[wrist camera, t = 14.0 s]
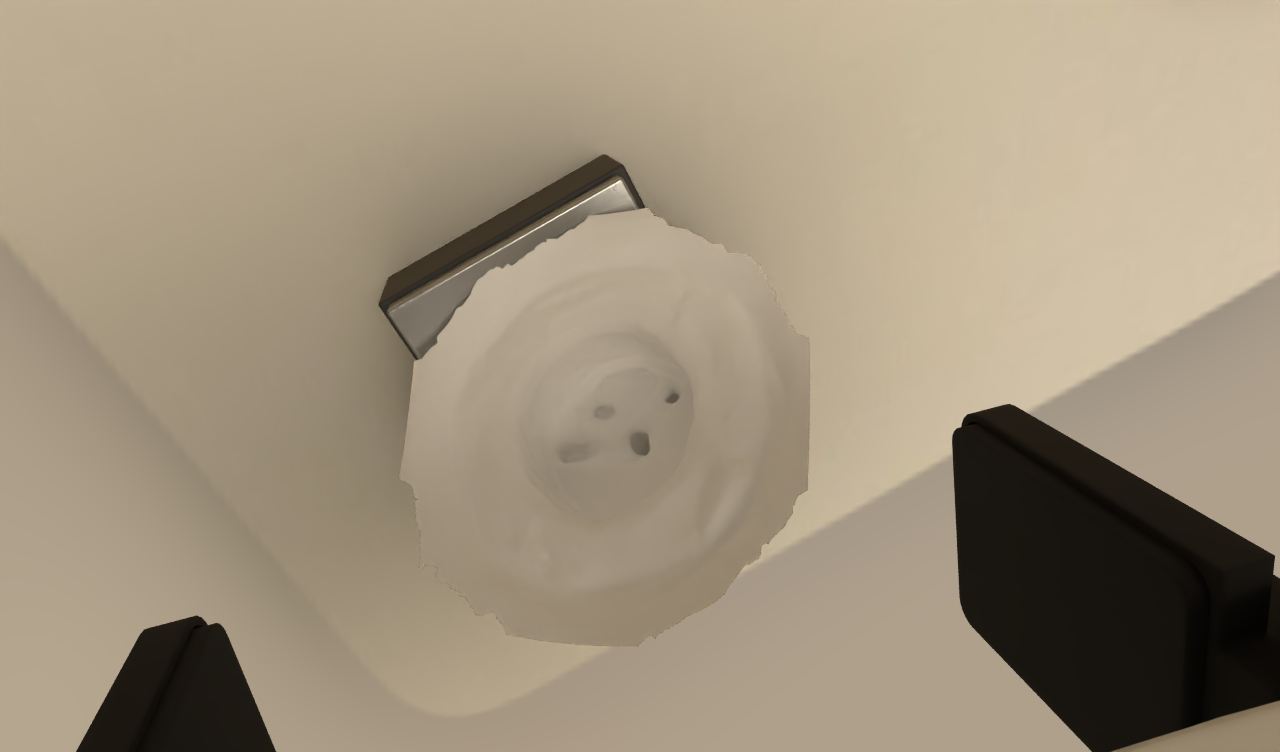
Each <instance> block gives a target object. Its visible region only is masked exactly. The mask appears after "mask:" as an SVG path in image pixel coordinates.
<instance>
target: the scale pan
mask: <svg viewBox="0 0 1280 752" xmlns="http://www.w3.org/2000/svg"><path fill="white" fill-rule="evenodd" d="M638 209H639V208H638V206H637V204H636V202H635V200H634V198H633V196H632V194H631V192H630V191H629V189H628V187H627V185H626V183H625V181H624V179H623V178H622V177H620V176H619V175H614V176H613V177H611V178H609V179H607V180H606V181H604V182H602V183H600V184H599V185H597V186H595V187H593V188H592V189H590V190H588V191H586V192H585V193H583V194H581V195H579V196H578V197H576V198H574V199H572V200H571V201H569V202H567V203H565V204H564V205H562V206H560V207H558V208H557V209H555V210H553V211H551V212H550V213H548V214H546V215H544V216H543V217H541V218H539V219H537V220H536V221H534V222H532V223H530V224H529V225H527V226H525V227H523V228H522V229H520V230H518V231H517V232H515V233H513V234H511V235H510V236H508V237H506V238H504V239H503V240H501V241H499V242H497V243H496V244H494V245H492V246H490V247H489V248H487V249H485V250H483V251H482V252H480V253H478V254H476V255H475V256H473V257H471V258H469V259H468V260H466V261H464V262H462V263H461V264H459V265H457V266H455V267H454V268H452V269H450V270H448V271H447V272H445V273H443V274H441V275H440V276H438V277H436V278H434V279H433V280H431V281H429V282H427V283H426V284H424V285H422V286H420V287H419V288H417V289H415V290H413V291H412V292H410V293H408V294H406V295H405V296H403V297H401V298H400V299H398V300H396V301H394V302H393V303H391V304H390V305H389V307H388V310H387V313H388V315H389V317H390V318H391V320H392V321H393V323H394V324H395V325H396V327H397V328H398V330H399V331H400V333H401V334H402V336H403V337H404V339H405V340H406V341H407V343H408V344H409V346H410V347H411V349H412V350H413V352H414V353H415V355H416V356H417V357H418V359H422V358H423V357H424V355H425V354H426V353H427V352H428V351H429V349H430V348H431V347H433V346H434V345H436V344H437V343H438V341H437V336H438V335H439V334H440V333H441V331H442V330H443V329H444V328H445V327H446V326H447V325H448V323H449V322H450V320H451V319H452V317H453V315H454V312H455V310H456V309H457V308H458V307H460V306H462V305H463V304H464V303H465V301H466V300H467V299H468V297H469V296H470V295H471V291H472V289H473V287H474V285H475V283H476V281H477V280H478V279H479V278H480V277H483V276H484V275H485V274H486V273H487V272H488V271H489V270H491V269H494V268H495V267H499V268H502V269H503V268H504V267H505V266H506V265H507V264H508V263H509V265H511V266H512V265H514V264H515V263H517V261H518V260H520V259H522V258H523V257H524V256H525V255H526V254H527V253H529V252H531V251H533V250H534V249H535V247H536V246H538V245H539V244H541V243H543V242H547V241H546V239H558V238H559V237H561V236H562V235H563V234H564V233H566V232H567V231H569V230H570V229H575V228H576V227H577V226H578V225H579V224H581V223H582V222H584V221H585V219H586V218H587V217H588V215H602V214H611V213H618V212H625V211H632V210H638Z"/></svg>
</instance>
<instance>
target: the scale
mask: <svg viewBox="0 0 1280 752" xmlns="http://www.w3.org/2000/svg"><path fill="white" fill-rule="evenodd" d="M614 175H619V176H620V177H622V178H623V179H624V181H625V183H626V185H627V187H628V189H629V191H630V192H631V194H632V196H633V198H634V200H635V202H636V204H637V206H638V208H639V209H644V208H645V206H644V204H643V202H642V200H641V198H640V196H639V194H638V192H637V190H636V188H635V186H634V185H633V183H632V181H631V179H630V177H629V175H628V173H627V171H626V169H625V167H624V166H623V165H622V164H620V163H619V162H617V161H615V160H614V159H612V158H610V157H609V156H607V155H602V156H600V157H598V158H597V159H595V160H593V161H591V162H590V163H588V164H586V165H584V166H583V167H581V168H579V169H577V170H576V171H574V172H572V173H570V174H569V175H567V176H565V177H563V178H562V179H560V180H558V181H556V182H555V183H553V184H551V185H549V186H548V187H546V188H544V189H542V190H541V191H539V192H537V193H536V194H534V195H532V196H530V197H529V198H527V199H525V200H523V201H522V202H520V203H518V204H516V205H515V206H513V207H511V208H509V209H508V210H506V211H504V212H502V213H501V214H499V215H497V216H495V217H494V218H492V219H490V220H488V221H487V222H485V223H483V224H481V225H480V226H478V227H476V228H474V229H473V230H471V231H469V232H467V233H466V234H464V235H462V236H460V237H459V238H457V239H455V240H453V241H452V242H450V243H448V244H446V245H445V246H443V247H441V248H439V249H438V250H436V251H434V252H432V253H431V254H429V255H427V256H425V257H424V258H422V259H420V260H419V261H417V262H415V263H413V264H412V265H410V266H408V267H406V268H405V269H403V270H401V271H399V272H398V273H396V274H394V275H392V276H391V277H389V278H388V280H387V283H386V285H385V288H384V291H383V294H382V296H381V299H380V302H379V307H380V308H381V310H382V311H383V313H384V314H385V315H386V317H387V318H388V320H389V321H390V323H391V324H392V326H393V327H394V329H395V330H396V331H397V333H398V334H399V336H400V337H401V339H402V340H403V342H404V343H405V345H406V346H407V347H408V349H409V350H410V352H411V353H412V355H413V356H414V358H415V359H416V360H419V359H418V357H417V356H416V355H415V353H414V352H413V350H412V349H411V347H410V346H409V344H408V343H407V341H406V340H405V339H404V337H403V336H402V334H401V333H400V331H399V330H398V328H397V327H396V325H395V324H394V323H393V321H392V320H391V318H390V317H389V315H388V313H387V310H388V307H389V305H390V304H391V303H393V302H394V301H396V300H398V299H400V298H401V297H403V296H405V295H406V294H408V293H410V292H412V291H413V290H415V289H417V288H419V287H420V286H422V285H424V284H426V283H427V282H429V281H431V280H433V279H434V278H436V277H438V276H440V275H441V274H443V273H445V272H447V271H448V270H450V269H452V268H454V267H455V266H457V265H459V264H461V263H462V262H464V261H466V260H468V259H469V258H471V257H473V256H475V255H476V254H478V253H480V252H482V251H483V250H485V249H487V248H489V247H490V246H492V245H494V244H496V243H497V242H499V241H501V240H503V239H504V238H506V237H508V236H510V235H511V234H513V233H515V232H517V231H518V230H520V229H522V228H523V227H525V226H527V225H529V224H530V223H532V222H534V221H536V220H537V219H539V218H541V217H543V216H544V215H546V214H548V213H550V212H551V211H553V210H555V209H557V208H558V207H560V206H562V205H564V204H565V203H567V202H569V201H571V200H572V199H574V198H576V197H578V196H579V195H581V194H583V193H585V192H586V191H588V190H590V189H592V188H593V187H595V186H597V185H599V184H600V183H602V182H604V181H606V180H607V179H609V178H611V177H613V176H614Z"/></svg>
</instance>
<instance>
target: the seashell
mask: <svg viewBox="0 0 1280 752" xmlns="http://www.w3.org/2000/svg"><path fill="white" fill-rule="evenodd" d="M546 241H547V242H543V243H541V244H539V245H538V246H536V247H535V249H534V250H533V251H531V252H529V253H527V254H526V255H525V256H524V257H523V258H522V259H520V260H518V261H517V263H515V264H514V265H512V266H511V265H509V263H508V264H507V265H506V266H505V267H504V268H503V269H502V268H499V267H495V268H494V269H491V270H489V271H488V272H487V273H486V274H485V275H484V276H483V277H480V278H479V279H478V280H477V281H476V283H475V285H474V287H473V289H472V291H471V295H470V296H469V297H468V299H467V300H466V301H465V303H464V304H463V305H462V306H460V307H458V308H457V309H456V310H455V312H454V315H453V317H452V319H451V320H450V322H449V323H448V325H447V326H446V327H445V328H444V329H443V330H442V331H441V333H440V334H439V335H438V336H437V341H438V343H437V344H436V345H434V346H433V347H431V348H430V349H429V351H428V352H427V353H426V354H425V355H424V357H423V358H422V359H419V360H416V361H414V367H413V377H412V386H411V395H410V404H409V413H408V421H407V430H406V437H405V445H404V452H403V458H402V464H401V469H400V474H399V479H400V480H402V481H404V482H406V483H408V484H410V485H411V487H412V489H413V491H414V496H413V498H417V500H416V501H415V509H416V515H415V516H416V519H417V525H418V527H419V529H420V535H421V540H420V553H421V555H420V563H419V568H422V569H423V568H424V565H425V564H426V565H430V566H435V567H437V572H436V576H435V577H432V578H436V579H437V580H439V581H440V582H441V583H449V586H450V588H451V589H454V590H455V591H460V595H459V596H462V597H465V598H466V600H467V601H468V602H469V603H470V607H471V608H472V609H473V611H474V613H475V615H479V616H484V615H486V614H488V613H491V612H494V614H495V616H496V618H497V619H498V620H499V621H500V623H501V624H502V625H503V627H504V629H505V632H506V634H507V635H511V636H516V637H522V638H528V639H534V640H541V641H548V642H557V643H566V644H576V645H592V646H638V645H639V644H641V643H642V642H643V641H644V640H645V639H646V638H647V637H648V636H652V637H654V638H656V637H657V635H658V634H660V633H662V632H663V631H664V630H666V629H669V628H670V627H672V626H674V625H675V624H678V623H679V622H680V621H682V620H683V619H684V618H686V617H687V616H689V615H691V614H693V613H696V612H698V611H700V610H702V609H704V608H706V607H708V606H709V605H711V604H713V603H714V602H716V601H717V600H718V599H719V598H721V597H722V596H723V595H724V594H725V592H726V591H727V589H728V588H729V586H730V585H731V583H732V582H733V581H734V579H735V578H736V577H737V575H738V574H739V572H740V571H741V570H742V568H743V567H744V566H745V565H746V564H751V563H752V562H754V561H755V560H757V559H759V557H760V555H761V546H762V545H763V544H765V543H767V544H769V542H770V540H771V539H772V538H773V537H774V536H775V535H776V534H777V533H778V532H779V531H780V530H781V529H783V527H784V526H785V525H786V523H787V521H788V519H789V518H790V517H791V515H792V513H793V506H794V504H795V501H796V499H797V497H798V496H799V495H801V494H802V493H804V492H805V491H807V489H808V463H809V417H810V343H809V337H805V336H802V335H799V334H796V333H795V331H794V329H793V327H792V325H790V324H789V322H788V319H787V317H786V314H785V313H784V312H783V311H782V310H781V308H780V305H779V304H778V303H777V302H776V292H775V291H774V290H773V289H772V288H770V286H769V284H768V282H767V276H766V274H765V273H761V264H757V263H756V262H755V261H754V260H753V259H752V258H751V257H750V256H748V255H746V254H743V253H728V252H727V251H726V250H725V248H724V246H723V244H722V243H720V244H711V243H709V242H708V241H706V240H705V239H704V238H703V237H701V236H700V235H696V234H693V233H691V232H690V231H689V230H688V229H679V228H676V227H674V226H668V224H667V223H666V221H665V220H664V219H662V218H660V217H657V216H654V215H653V214H652V212H651V211H650V210H649V208H644V209H638V210H632V211H625V212H618V213H611V214H602V215H588V217H587V218H586V219H585V221H584V222H582V223H581V224H579V225H578V226H577V227H576V228H575V229H570V230H569V231H567V232H566V233H564V234H563V235H562V236H561V237H559V238H558V239H546Z"/></svg>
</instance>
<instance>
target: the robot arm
mask: <svg viewBox="0 0 1280 752" xmlns="http://www.w3.org/2000/svg"><path fill="white" fill-rule="evenodd" d="M952 448H953V469H954V488H955V508H956V509H955V510H956V529H957V551H958V570H959V571H958V573H959V594H960V603H961V606H962V610H963V612H964V614H965V617H966V618H967V620H968V622H969V623H970V625H971V626H972V627H973V628H974V629H975V630H976V631H977V632H978V633H979V634H980V635H981V637H982V638H983V639H984V640H985V641H986V642H987V643H988V644H989V645H990V646H991V647H992V648H993V649H994V650H995V651H996V652H997V653H998V654H999V655H1000V656H1001V657H1002V658H1003V660H1004V661H1005V662H1006V663H1007V664H1008V665H1009V666H1010V667H1011V668H1012V669H1013V670H1014V671H1015V672H1016V673H1017V674H1018V675H1019V676H1020V677H1021V678H1022V679H1023V680H1024V681H1025V682H1026V683H1027V684H1028V686H1029V687H1030V688H1031V689H1032V690H1033V691H1034V692H1035V693H1036V694H1037V695H1038V696H1039V697H1040V698H1041V699H1042V700H1043V701H1044V702H1045V703H1046V704H1047V705H1048V706H1049V707H1050V708H1051V709H1052V711H1053V712H1054V713H1055V714H1056V715H1057V716H1058V717H1059V718H1060V719H1061V720H1062V721H1063V722H1064V723H1065V724H1066V725H1067V726H1068V727H1069V728H1070V729H1071V730H1072V731H1073V732H1074V733H1075V734H1076V736H1077V737H1078V738H1079V739H1080V740H1081V741H1082V742H1083V743H1084V744H1085V745H1086V746H1087V747H1088V748H1089V749H1090V750H1091V751H1092V752H1280V578H1278V577H1276V576H1275V575H1273V570H1274V561H1275V556H1274V555H1273V554H1271V553H1269V552H1267V551H1265V550H1264V549H1262V548H1261V547H1259V546H1257V545H1255V544H1253V543H1252V542H1250V541H1248V540H1247V539H1245V538H1243V537H1241V536H1240V535H1238V534H1236V533H1234V532H1232V531H1231V530H1229V529H1227V528H1226V527H1224V526H1222V525H1221V524H1219V523H1217V522H1215V521H1214V520H1212V519H1210V518H1208V517H1206V516H1205V515H1203V514H1201V513H1200V512H1198V511H1196V510H1194V509H1193V508H1191V507H1189V506H1188V505H1186V504H1184V503H1182V502H1181V501H1179V500H1177V499H1175V498H1174V497H1172V496H1170V495H1169V494H1167V493H1165V492H1163V491H1161V490H1160V489H1158V488H1156V487H1155V486H1153V485H1151V484H1149V483H1148V482H1146V481H1144V480H1143V479H1141V478H1139V477H1137V476H1136V475H1134V474H1132V473H1130V472H1128V471H1127V470H1125V469H1123V468H1122V467H1120V466H1118V465H1116V464H1115V463H1113V462H1111V461H1110V460H1108V459H1106V458H1104V457H1103V456H1101V455H1099V454H1097V453H1096V452H1094V451H1092V450H1090V449H1089V448H1087V447H1085V446H1083V445H1082V444H1080V443H1078V442H1077V441H1075V440H1073V439H1071V438H1070V437H1068V436H1066V435H1064V434H1063V433H1061V432H1059V431H1057V430H1056V429H1054V428H1052V427H1050V426H1049V425H1047V424H1045V423H1044V422H1042V421H1040V420H1038V419H1037V418H1035V417H1033V416H1031V415H1030V414H1028V413H1026V412H1025V411H1023V410H1021V409H1019V408H1018V407H1016V406H1013V405H1011V404H1006V405H1002V406H998V407H994V408H990V409H987V410H983V411H979V412H975V413H971V414H967V415H966V417H965V418H964V419H963V422H962V427H961V428H957V429H956V430H955V431H954V433H953V437H952ZM76 752H276V751H275V748H274V746H273V744H272V741H271V739H270V736H269V734H268V732H267V729H266V727H265V724H264V722H263V719H262V717H261V715H260V712H259V710H258V707H257V705H256V703H255V700H254V698H253V695H252V693H251V691H250V688H249V686H248V683H247V681H246V679H245V676H244V674H243V671H242V669H241V667H240V664H239V662H238V659H237V657H236V655H235V652H234V650H233V648H232V645H231V643H230V640H229V638H228V636H227V634H226V631H225V630H224V628H223V627H222V626H221V625H220V624H218V623H215V624H211V625H207V623H206V622H205V621H204V620H203V619H202V618H201V617H199V616H193V617H190V618H186V619H182V620H178V621H174V622H170V623H167V624H163V625H159V626H155V627H151V628H148V629H145V630H144V631H143V632H142V633H141V634H140V636H139V637H138V639H137V641H136V643H135V645H134V647H133V648H132V650H131V652H130V654H129V656H128V658H127V660H126V661H125V663H124V665H123V667H122V669H121V670H120V672H119V674H118V676H117V678H116V680H115V682H114V683H113V685H112V687H111V689H110V691H109V692H108V694H107V696H106V698H105V700H104V702H103V703H102V705H101V707H100V709H99V711H98V713H97V714H96V716H95V719H94V720H93V722H92V724H91V725H90V727H89V729H88V731H87V733H86V735H85V737H84V738H83V740H82V742H81V744H80V746H79V747H78V749H77V751H76Z"/></svg>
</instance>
